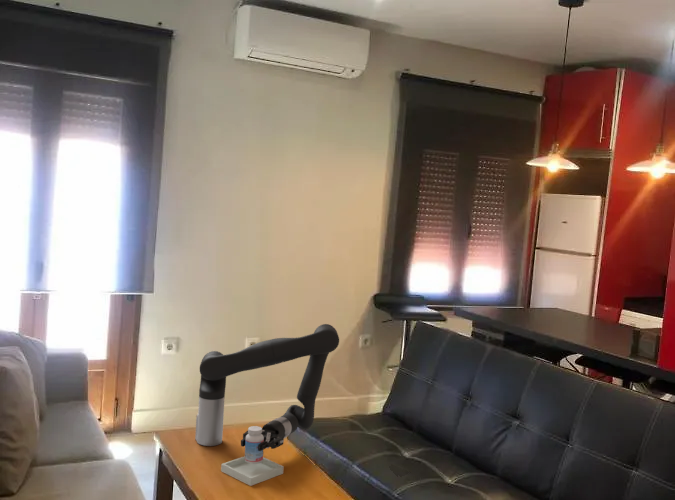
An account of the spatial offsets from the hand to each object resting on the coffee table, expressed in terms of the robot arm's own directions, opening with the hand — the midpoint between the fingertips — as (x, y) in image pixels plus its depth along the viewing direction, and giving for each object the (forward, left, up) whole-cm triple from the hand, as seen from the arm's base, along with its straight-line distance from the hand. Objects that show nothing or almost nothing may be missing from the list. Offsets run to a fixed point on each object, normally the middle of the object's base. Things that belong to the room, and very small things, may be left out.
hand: (250, 445), depth 230 cm
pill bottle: (-1, +2, -6) cm, 7 cm away
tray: (-1, +2, -10) cm, 10 cm away
